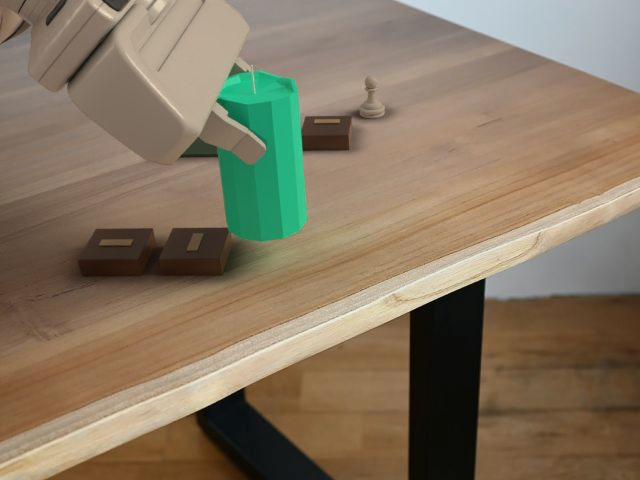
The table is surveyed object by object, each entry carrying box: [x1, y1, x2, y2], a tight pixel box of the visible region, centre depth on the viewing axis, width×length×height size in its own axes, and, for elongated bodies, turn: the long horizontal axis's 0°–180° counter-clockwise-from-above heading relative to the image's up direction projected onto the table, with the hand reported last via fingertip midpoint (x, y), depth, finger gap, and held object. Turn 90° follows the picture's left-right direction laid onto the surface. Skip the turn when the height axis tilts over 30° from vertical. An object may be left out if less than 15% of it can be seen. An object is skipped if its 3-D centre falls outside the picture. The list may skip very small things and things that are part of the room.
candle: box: [216, 64, 308, 243], centre depth 64 cm, size 6×6×12 cm
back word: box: [301, 115, 353, 151], centre depth 86 cm, size 10×4×2 cm, turn 89°
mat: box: [179, 137, 218, 158], centre depth 87 cm, size 7×7×1 cm
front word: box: [77, 226, 234, 277], centre depth 69 cm, size 10×4×2 cm, turn 89°
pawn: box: [358, 75, 386, 120], centre depth 90 cm, size 3×3×4 cm
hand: (267, 135), depth 63 cm, fingers closed on candle, 5 cm apart
